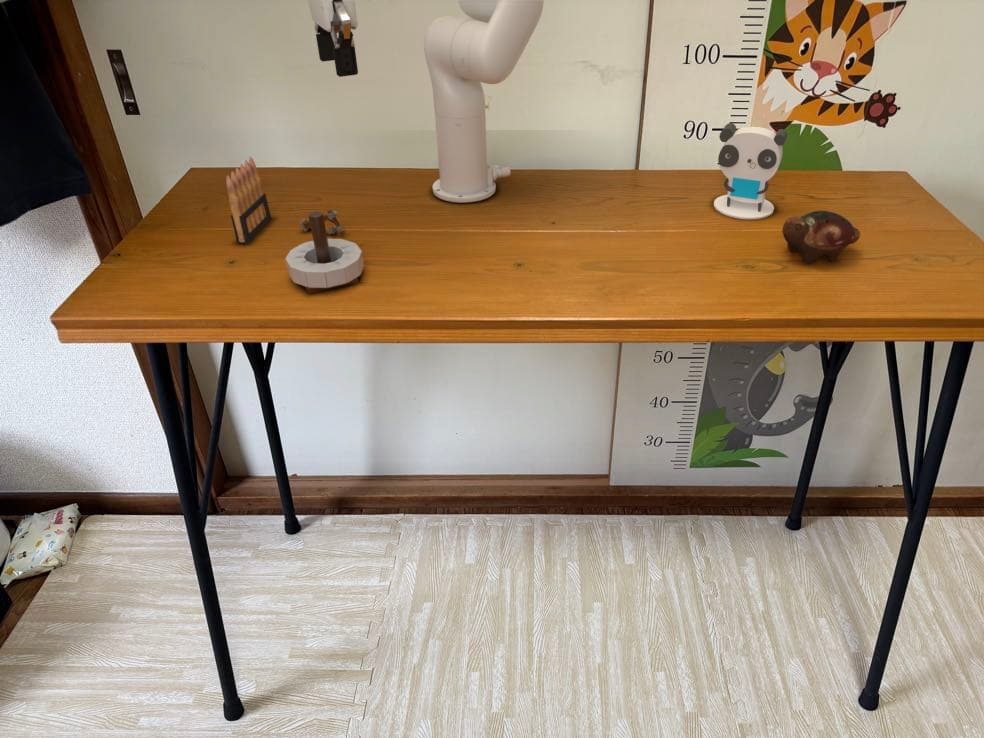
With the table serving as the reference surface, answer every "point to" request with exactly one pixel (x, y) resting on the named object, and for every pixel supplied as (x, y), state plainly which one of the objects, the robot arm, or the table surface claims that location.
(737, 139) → the panda figurine
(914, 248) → the table surface
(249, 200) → the ammunition clip
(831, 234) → the decorative turtle
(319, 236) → the stand
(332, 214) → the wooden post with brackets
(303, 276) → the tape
